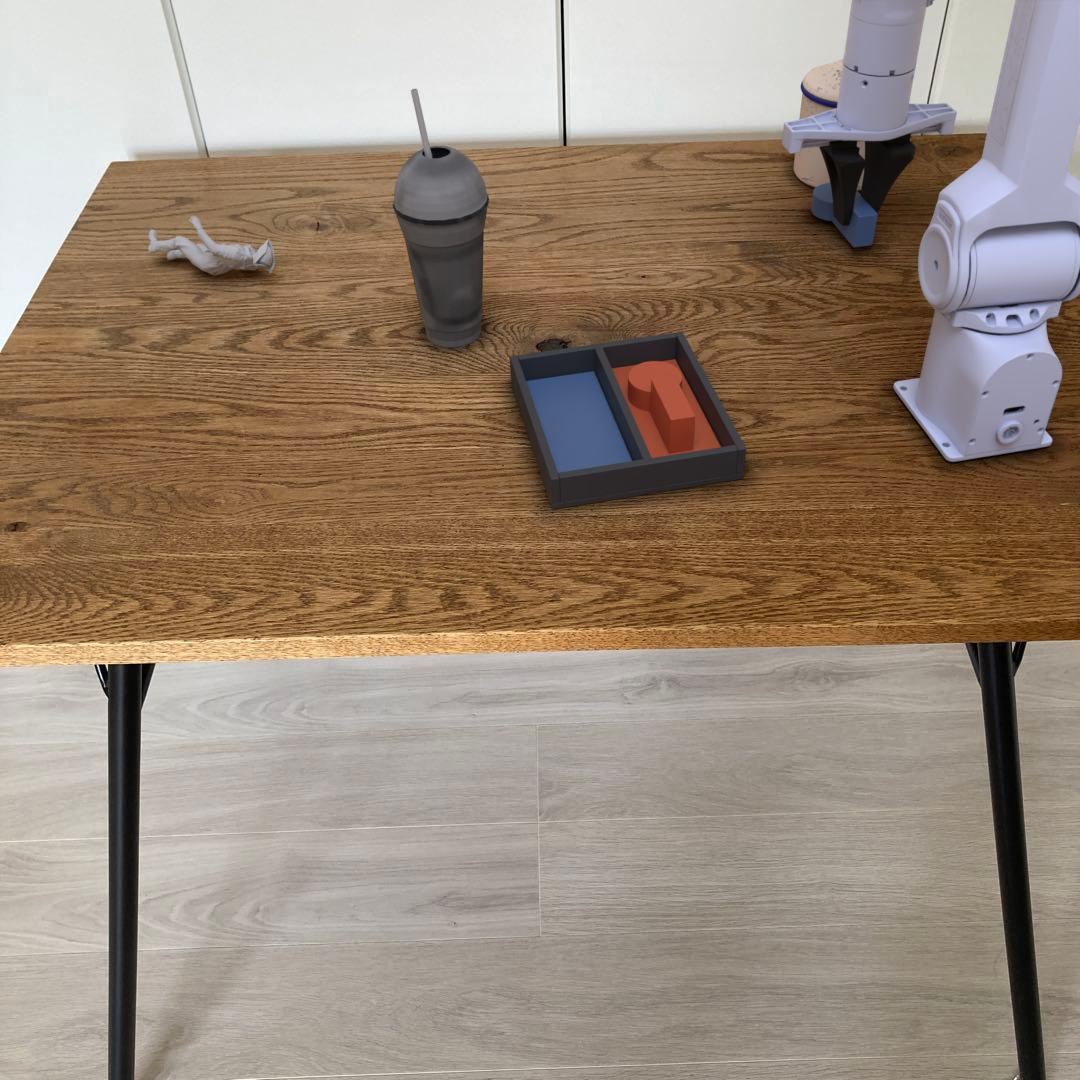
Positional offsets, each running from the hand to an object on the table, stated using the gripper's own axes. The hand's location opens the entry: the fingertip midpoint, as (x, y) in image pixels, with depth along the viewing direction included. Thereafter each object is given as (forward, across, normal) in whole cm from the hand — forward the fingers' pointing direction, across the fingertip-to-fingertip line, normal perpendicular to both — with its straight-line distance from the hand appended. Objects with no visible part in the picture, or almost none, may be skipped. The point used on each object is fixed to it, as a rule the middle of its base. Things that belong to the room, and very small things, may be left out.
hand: (854, 218), depth 104 cm
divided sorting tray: (+2, +27, +22) cm, 35 cm away
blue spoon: (+1, 0, -2) cm, 2 cm away
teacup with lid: (+2, -4, -14) cm, 15 cm away
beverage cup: (+2, +37, +6) cm, 38 cm away
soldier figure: (+2, +56, -9) cm, 57 cm away
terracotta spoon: (+2, +24, +22) cm, 32 cm away
